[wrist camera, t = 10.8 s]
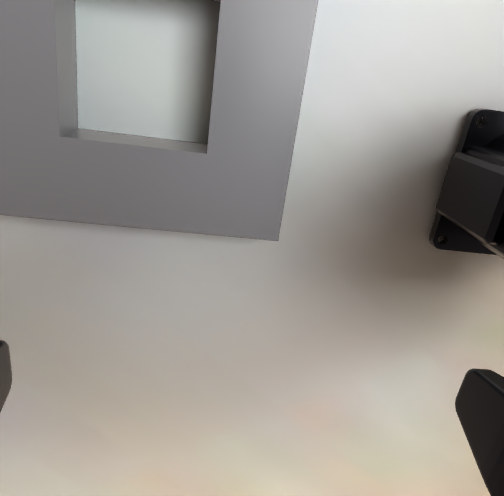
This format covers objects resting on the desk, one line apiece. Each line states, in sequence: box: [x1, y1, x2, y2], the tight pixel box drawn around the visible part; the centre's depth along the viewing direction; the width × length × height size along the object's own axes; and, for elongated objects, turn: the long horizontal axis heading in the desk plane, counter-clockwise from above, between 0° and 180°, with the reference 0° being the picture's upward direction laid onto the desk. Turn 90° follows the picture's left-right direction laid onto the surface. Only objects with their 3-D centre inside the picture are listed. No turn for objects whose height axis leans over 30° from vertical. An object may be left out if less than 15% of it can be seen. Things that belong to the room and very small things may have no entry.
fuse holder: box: [0, 0, 318, 241], centre depth 16 cm, size 12×12×2 cm
